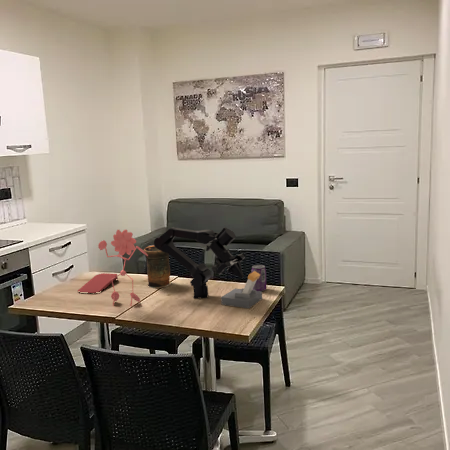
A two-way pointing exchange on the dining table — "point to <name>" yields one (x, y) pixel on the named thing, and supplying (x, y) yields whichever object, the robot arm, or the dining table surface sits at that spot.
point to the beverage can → (260, 282)
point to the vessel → (157, 267)
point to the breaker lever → (251, 282)
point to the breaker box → (241, 298)
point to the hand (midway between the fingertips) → (242, 277)
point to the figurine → (122, 245)
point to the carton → (98, 283)
